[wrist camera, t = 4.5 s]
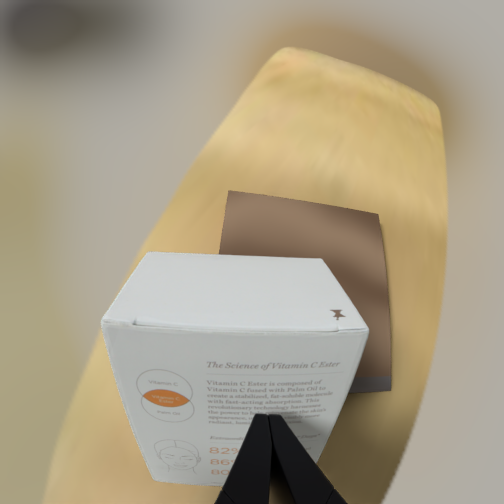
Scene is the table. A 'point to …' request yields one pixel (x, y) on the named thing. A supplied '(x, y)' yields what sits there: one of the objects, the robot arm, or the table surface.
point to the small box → (229, 356)
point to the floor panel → (331, 252)
